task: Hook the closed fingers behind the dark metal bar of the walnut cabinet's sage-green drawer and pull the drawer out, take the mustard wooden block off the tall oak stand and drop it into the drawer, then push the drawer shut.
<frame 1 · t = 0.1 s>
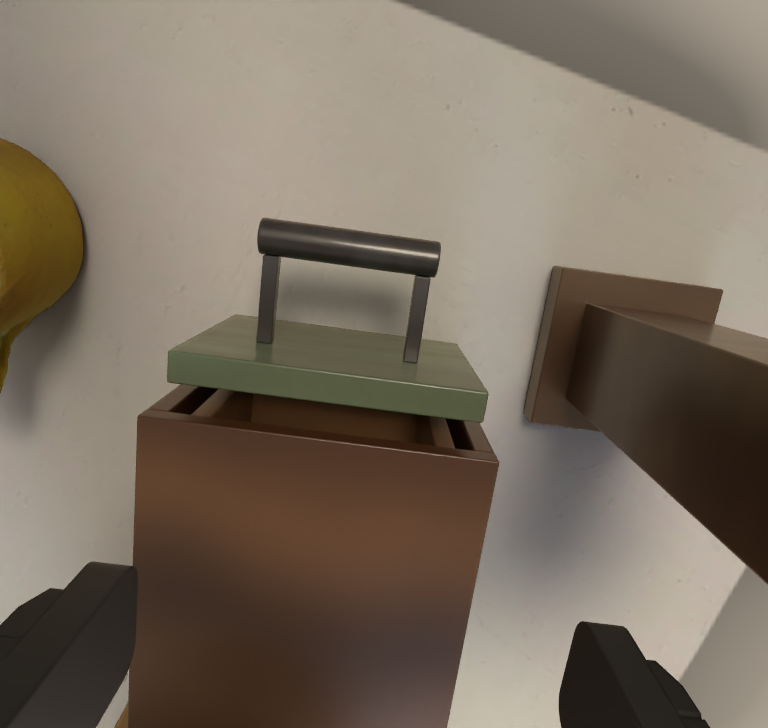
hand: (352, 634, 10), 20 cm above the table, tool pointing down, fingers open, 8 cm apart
drawer: (328, 439, 25), point 5 cm above the table, slide at 1.0 cm
stand: (611, 351, 29), on the table
cabinet: (327, 491, 31), on the table
mug: (16, 268, 28), on the table
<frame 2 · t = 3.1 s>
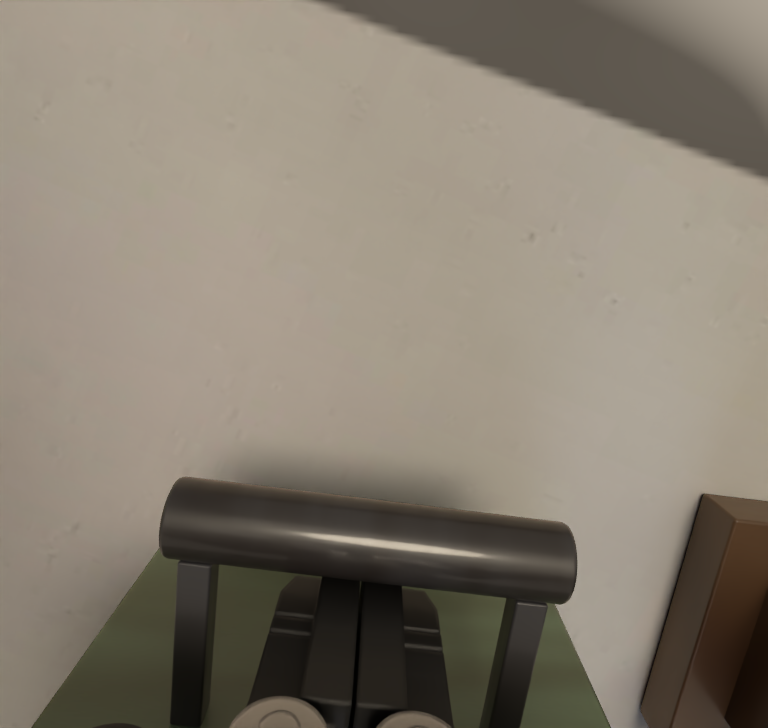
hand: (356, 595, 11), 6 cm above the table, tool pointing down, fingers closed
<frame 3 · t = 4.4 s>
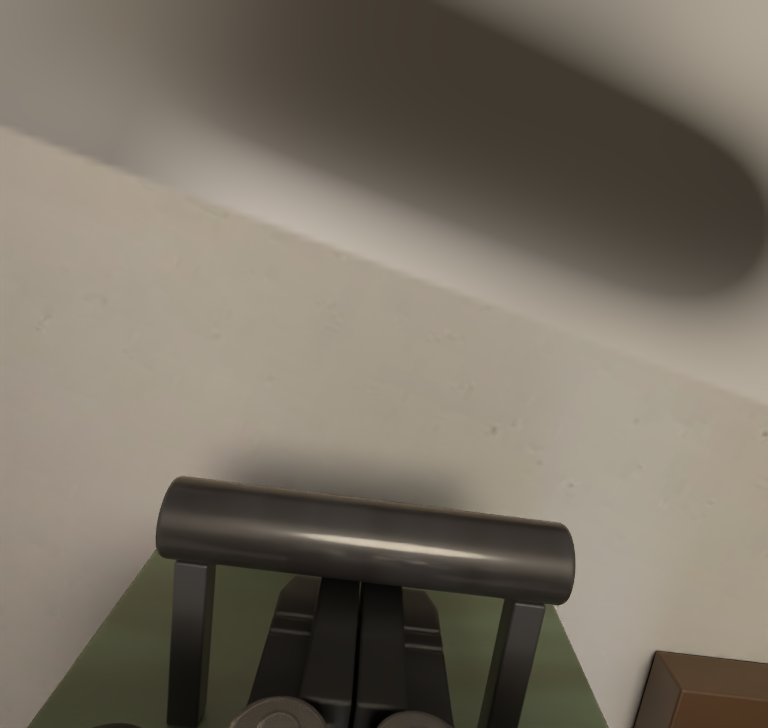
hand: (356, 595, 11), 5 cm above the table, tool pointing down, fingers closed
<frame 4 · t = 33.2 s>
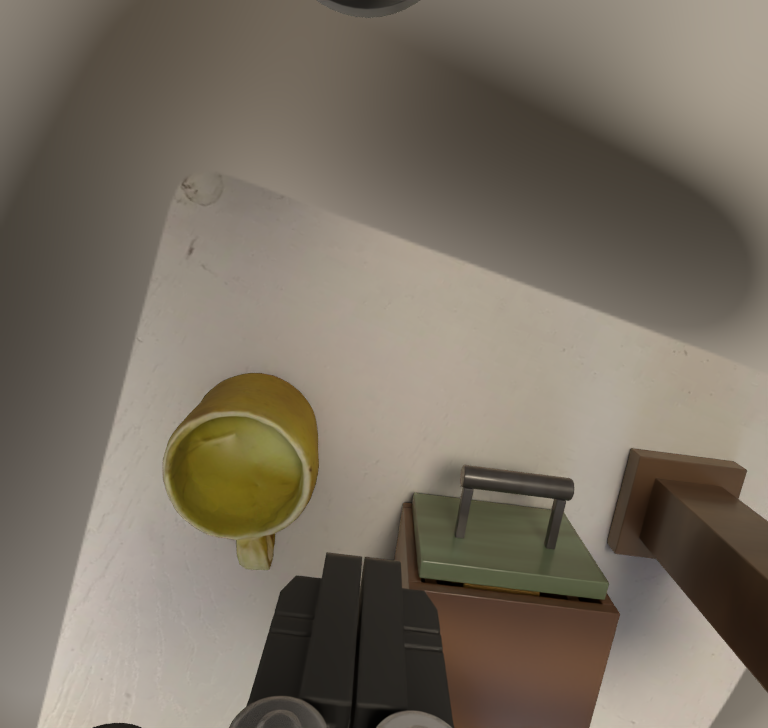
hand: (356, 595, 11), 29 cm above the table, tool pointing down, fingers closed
block: (479, 567, 41), point 2 cm above the table, touching drawer
drawer: (489, 588, 38), point 5 cm above the table, slide at 0.2 cm, touching block
stand: (669, 502, 42), on the table
cabinet: (467, 593, 44), on the table
mug: (264, 448, 41), on the table
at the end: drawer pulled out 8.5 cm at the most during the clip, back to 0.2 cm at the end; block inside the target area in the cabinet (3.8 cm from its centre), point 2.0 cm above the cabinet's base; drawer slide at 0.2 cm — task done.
